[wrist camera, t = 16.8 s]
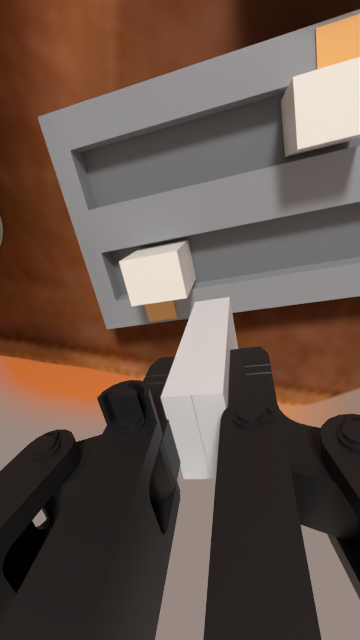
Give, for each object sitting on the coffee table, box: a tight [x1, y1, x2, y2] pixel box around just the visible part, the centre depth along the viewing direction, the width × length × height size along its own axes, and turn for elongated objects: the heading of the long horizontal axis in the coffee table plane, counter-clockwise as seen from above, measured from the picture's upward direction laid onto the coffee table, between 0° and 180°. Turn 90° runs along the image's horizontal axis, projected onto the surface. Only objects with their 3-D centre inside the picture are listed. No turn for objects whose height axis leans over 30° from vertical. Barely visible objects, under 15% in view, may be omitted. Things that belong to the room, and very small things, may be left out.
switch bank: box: [38, 9, 360, 329], centre depth 28 cm, size 20×30×4 cm, turn 102°
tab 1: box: [119, 239, 196, 306], centre depth 28 cm, size 4×5×6 cm
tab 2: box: [281, 57, 360, 157], centre depth 21 cm, size 4×5×6 cm
